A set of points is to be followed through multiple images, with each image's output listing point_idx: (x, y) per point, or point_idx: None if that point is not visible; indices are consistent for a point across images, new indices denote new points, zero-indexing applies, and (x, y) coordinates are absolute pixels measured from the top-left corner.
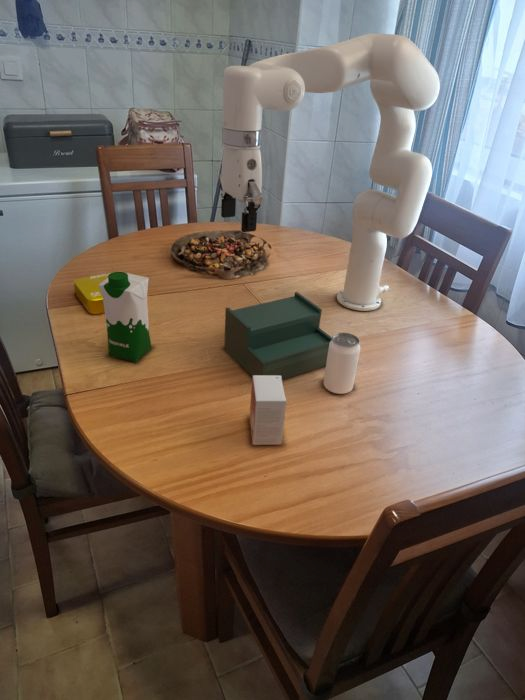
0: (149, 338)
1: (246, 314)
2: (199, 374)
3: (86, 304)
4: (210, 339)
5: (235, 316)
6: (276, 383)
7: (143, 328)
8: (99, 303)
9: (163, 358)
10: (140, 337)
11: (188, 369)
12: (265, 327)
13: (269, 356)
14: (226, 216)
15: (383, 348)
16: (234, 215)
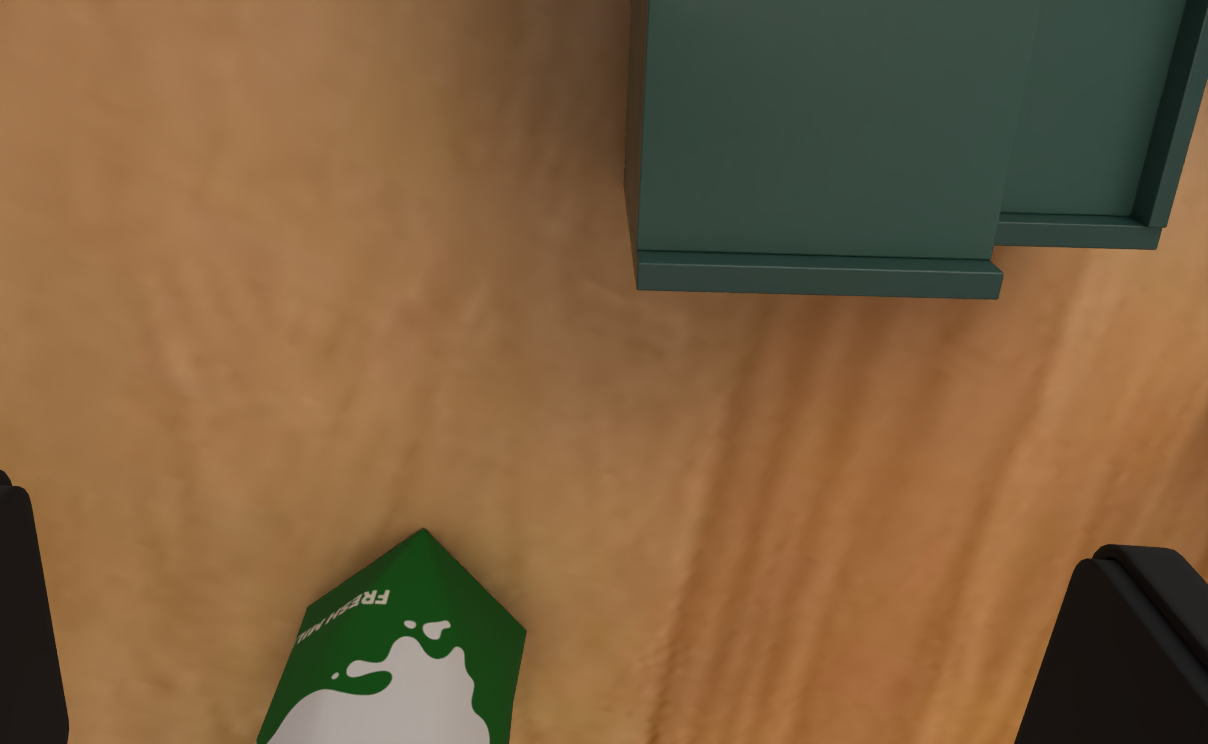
0: (448, 594)
1: (760, 149)
2: (778, 426)
3: None
4: (480, 209)
5: (801, 292)
6: None
7: (486, 703)
8: None
9: (550, 514)
10: (508, 694)
11: (708, 452)
12: (1017, 123)
13: (1075, 131)
14: (55, 689)
15: None
16: (12, 500)
